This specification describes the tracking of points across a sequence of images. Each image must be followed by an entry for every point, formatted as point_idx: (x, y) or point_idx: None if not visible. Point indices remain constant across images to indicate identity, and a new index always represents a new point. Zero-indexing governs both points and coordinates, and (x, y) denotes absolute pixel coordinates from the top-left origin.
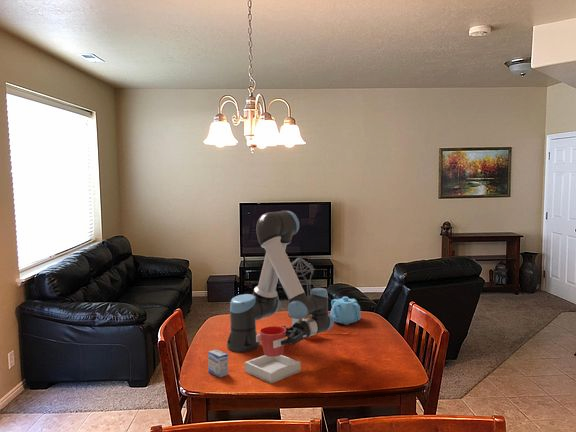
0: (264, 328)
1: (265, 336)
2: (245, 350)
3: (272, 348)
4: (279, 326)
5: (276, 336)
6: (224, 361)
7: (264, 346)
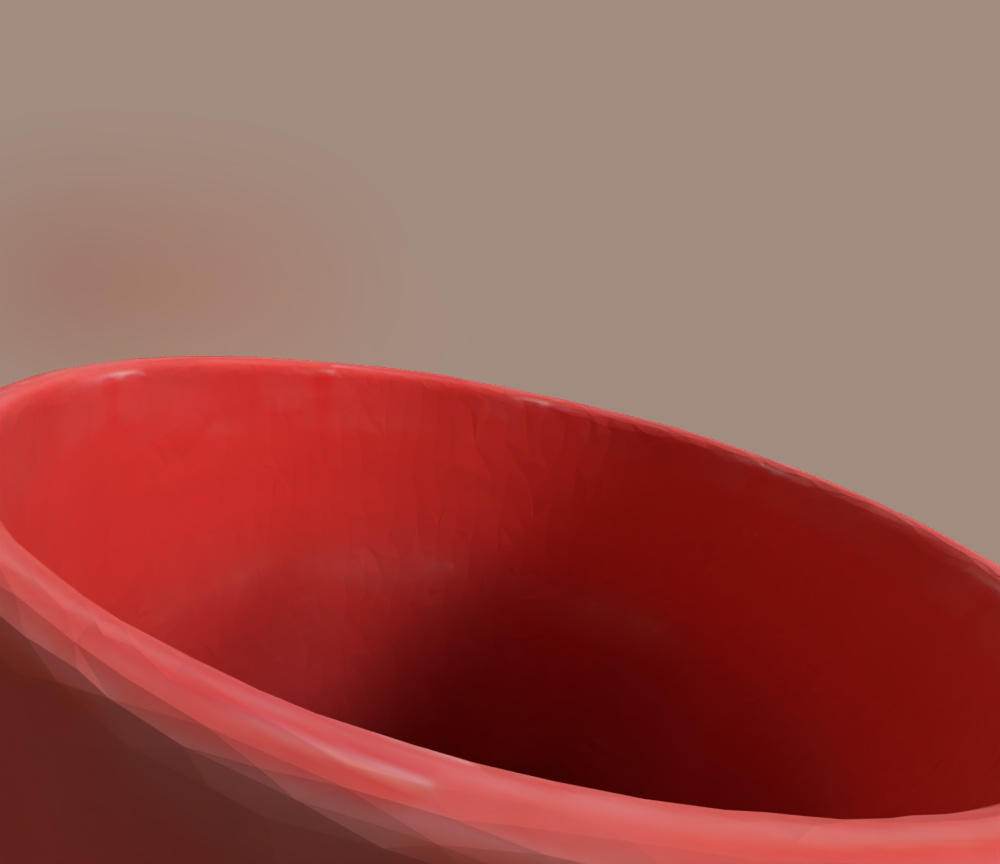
0: (972, 591)
1: (465, 433)
2: None
3: (293, 703)
4: (804, 836)
5: (214, 414)
6: None
7: (493, 691)
